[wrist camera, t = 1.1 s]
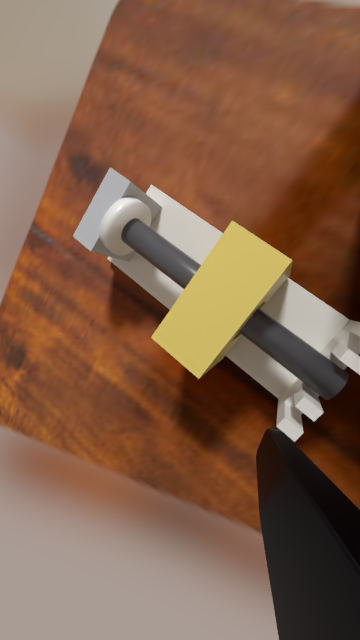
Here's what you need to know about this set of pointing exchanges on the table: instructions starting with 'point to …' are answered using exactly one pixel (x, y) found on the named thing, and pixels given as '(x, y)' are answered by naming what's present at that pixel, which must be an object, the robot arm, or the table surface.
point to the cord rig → (263, 326)
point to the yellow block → (222, 299)
